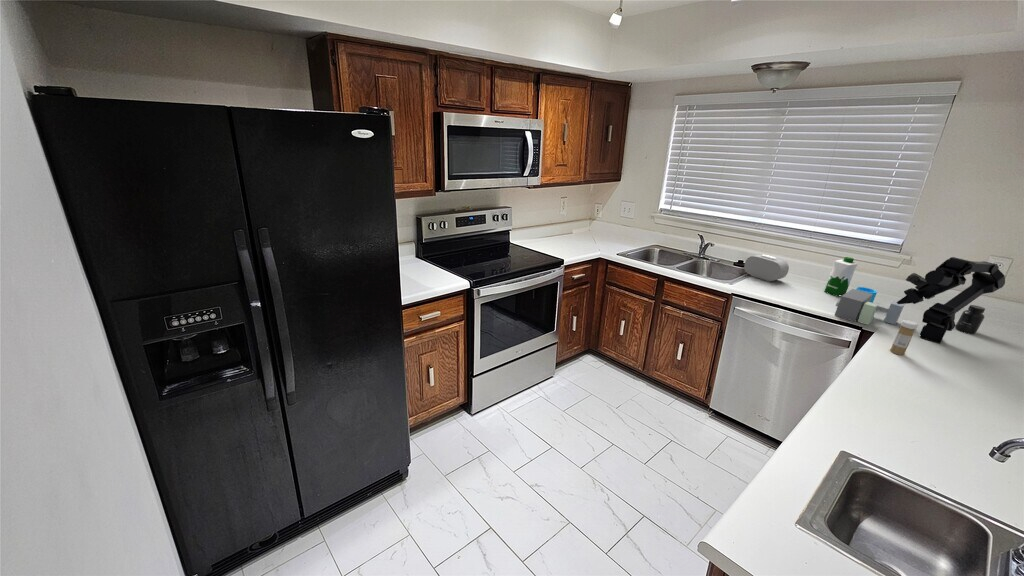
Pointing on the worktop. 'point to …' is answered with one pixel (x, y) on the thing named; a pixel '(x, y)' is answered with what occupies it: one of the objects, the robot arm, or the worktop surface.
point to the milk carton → (840, 276)
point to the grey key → (892, 312)
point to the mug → (868, 292)
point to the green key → (866, 312)
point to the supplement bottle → (970, 319)
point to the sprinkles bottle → (903, 337)
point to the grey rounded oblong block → (766, 267)
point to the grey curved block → (852, 304)
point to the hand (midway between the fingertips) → (897, 303)
